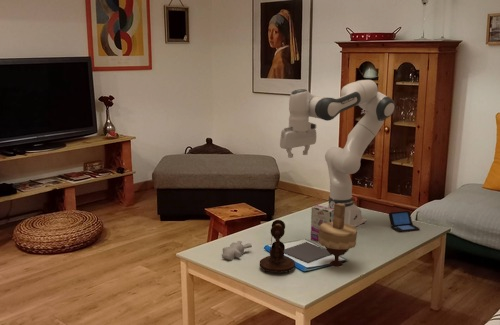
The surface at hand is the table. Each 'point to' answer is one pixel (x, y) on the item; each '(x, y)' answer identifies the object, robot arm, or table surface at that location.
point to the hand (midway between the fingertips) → (298, 156)
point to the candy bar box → (320, 219)
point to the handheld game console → (402, 222)
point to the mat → (307, 252)
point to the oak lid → (337, 231)
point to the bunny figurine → (234, 250)
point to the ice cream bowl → (336, 256)
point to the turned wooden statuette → (277, 252)
